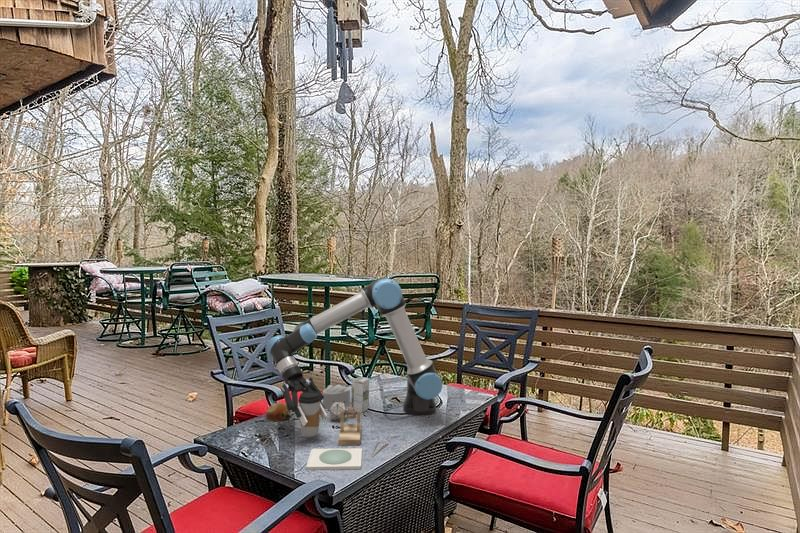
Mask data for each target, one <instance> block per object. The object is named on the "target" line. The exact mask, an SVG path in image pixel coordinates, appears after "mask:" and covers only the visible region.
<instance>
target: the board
mask: <svg viewBox="0 0 800 533" xmlns="http://www.w3.org/2000/svg"><path fill="white" fill-rule="evenodd" d="M362 459H363V447H361V448H360V447H359V448H356V447H355V448H349V447H348V448H311V451H310V454H309V457H308V460H307V463H306V467H305V470H306V471H317V470H318V471H319V470H323V471H324V470H326V471H327V470H334V471H335V470H339V471H340V470H362V461H363V460H362Z"/></svg>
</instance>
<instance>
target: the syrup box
mask: <svg viewBox="0 0 800 533" xmlns="http://www.w3.org/2000/svg"><path fill="white" fill-rule="evenodd" d="M351 384H352V386H351V387H352V388H351V390H352V391H351V407H353V408H354V409H355V411H357V410H360V414H363V413H365V412H367V411H368V410H369V402H370V400H369V399H370V378H367V377H363V376H359V377H357V378H354V379H352V383H351Z"/></svg>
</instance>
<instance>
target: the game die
mask: <svg viewBox="0 0 800 533" xmlns="http://www.w3.org/2000/svg"><path fill="white" fill-rule="evenodd" d="M333 402H334V401H333ZM326 410H327V412H329V414H330V417H331V422H333V421H338V420H339V421H341V410H344V411H348V409H347V406H345V401H344V402H334V403H333V405H332V406H331V408H330V409H326ZM345 417H346V415H344V418H345Z"/></svg>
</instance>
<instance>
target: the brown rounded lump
mask: <svg viewBox="0 0 800 533" xmlns="http://www.w3.org/2000/svg"><path fill="white" fill-rule="evenodd" d="M291 412H292V411H291V410H290V411H289V410H288V409H287V406H286V403H283V402H276V403H273V404H271V405H270V406H269V407H268V408H267V410H266V413H265V415H266V416H265V417H266V419H267V420H268V419H269V420H268V421H271V420H272V422H282V420H283V421H286V420H288V419H289V418H290V416H291ZM285 419H286V420H285Z"/></svg>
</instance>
